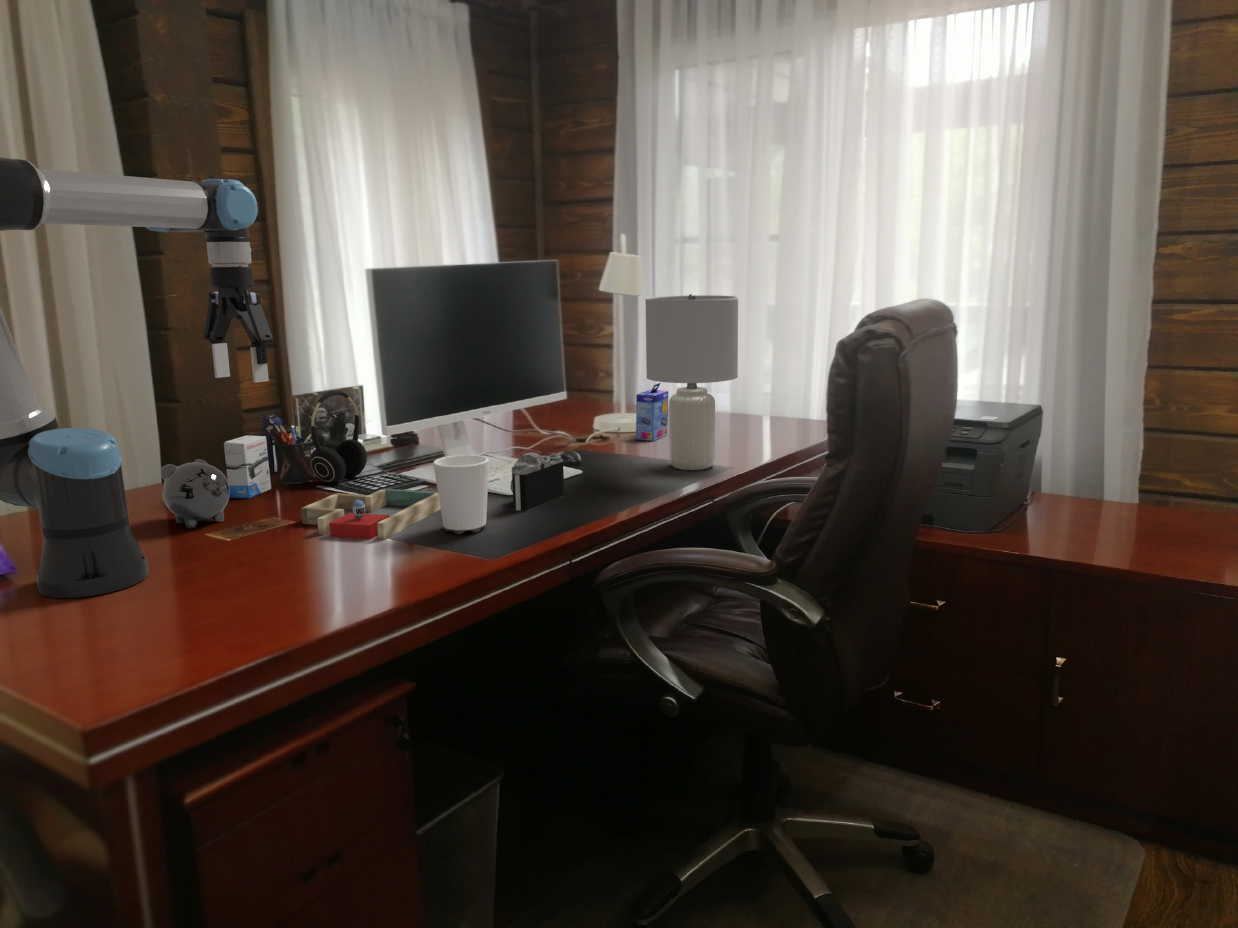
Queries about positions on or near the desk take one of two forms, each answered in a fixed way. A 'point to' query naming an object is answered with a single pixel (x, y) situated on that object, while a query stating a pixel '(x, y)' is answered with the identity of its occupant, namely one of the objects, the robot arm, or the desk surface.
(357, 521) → the red rectangular block
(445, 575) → the desk surface
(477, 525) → the cup
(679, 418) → the lamp
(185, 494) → the piggy bank
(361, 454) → the headphones
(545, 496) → the camera
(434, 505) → the channel
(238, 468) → the ink box
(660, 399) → the ink cartridge box
